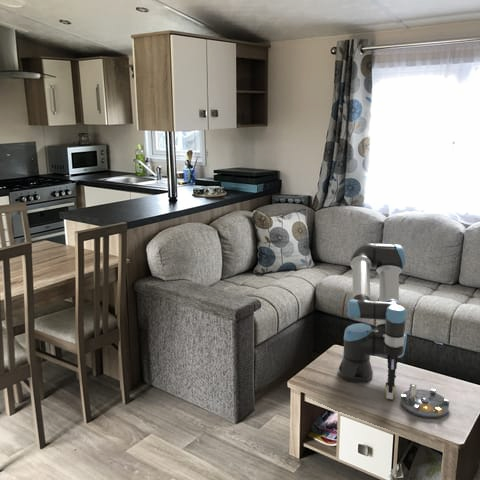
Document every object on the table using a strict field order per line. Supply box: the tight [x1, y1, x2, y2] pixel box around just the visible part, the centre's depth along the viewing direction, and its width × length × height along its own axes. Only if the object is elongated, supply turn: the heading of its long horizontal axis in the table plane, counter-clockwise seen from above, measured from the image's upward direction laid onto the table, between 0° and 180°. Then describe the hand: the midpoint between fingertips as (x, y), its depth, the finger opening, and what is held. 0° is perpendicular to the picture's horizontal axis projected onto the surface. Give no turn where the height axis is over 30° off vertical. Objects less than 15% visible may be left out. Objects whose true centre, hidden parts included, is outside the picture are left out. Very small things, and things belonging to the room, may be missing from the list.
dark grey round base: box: [400, 383, 450, 419], centre depth 201 cm, size 18×18×10 cm
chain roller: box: [384, 384, 396, 401], centre depth 207 cm, size 4×4×5 cm
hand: (389, 395), depth 207 cm, fingers closed on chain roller, 4 cm apart
